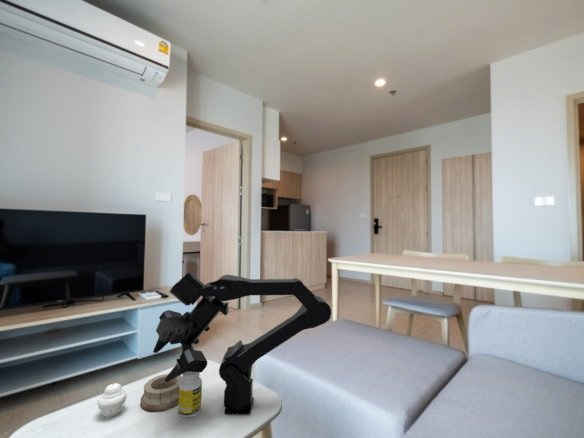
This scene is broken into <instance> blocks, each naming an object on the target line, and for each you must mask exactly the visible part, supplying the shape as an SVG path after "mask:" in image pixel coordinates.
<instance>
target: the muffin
mask: <svg viewBox="0 0 584 438" xmlns="http://www.w3.org/2000/svg"><path fill="white" fill-rule="evenodd" d="M127 396H128V394H127V391H126V390H125V389H123V388H122V385H121V384H120V383H117V382H115V383H112V384H109V385H107V386H106V387H105V388H104V391H103V393H102V394H101V396H99V398H98V400H97V403H96V404H97V407H98V410H100V412H101V414H102V415H103V416H104V418H105V417H106V418H111V417H115V416H117V415H118V414H119V413H120V412H121V410H122V408H123V405H124V404H125V402H126V399H127V398H128V397H127Z"/></svg>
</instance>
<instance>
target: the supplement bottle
mask: <svg viewBox="0 0 584 438" xmlns="http://www.w3.org/2000/svg"><path fill="white" fill-rule="evenodd" d="M200 373H201V372H186V373H183V374H182V377H183V380H182V381H181V382H180V384H179V404H178V405H177V406H178V409H177V410H178V412H177V413H178V415H179V416H180V417H182V418H184V419H185V418H193V417H196V415H198V414H199V413H200V412H201V409H202V396H203V394H202V393H203V391H202V390H203V380H202V378H201V377H200V375H201V374H200Z"/></svg>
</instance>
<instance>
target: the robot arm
mask: <svg viewBox="0 0 584 438" xmlns="http://www.w3.org/2000/svg"><path fill="white" fill-rule="evenodd" d="M169 294H171V295H172V296H173V297H175V298H176V299H177V300H178V301H180V303H182V304H183V305H185V306H186V307H187V306H190V305H192V306H193V305H195V304H196V302H197V301H198V300H199V301H198V303H197V304H196V305H195V307H194V308H193V309H192V310H191V311H190V312H189V311H186V312H184V313H183V314H182V313H181V312H179V311H178V312H177V311H174V310H170V309H167V310H164V311H163V312H162V313H161V314H160V316H158V317H159V323H158V324H157V327H156V329H155V331H156V333H157V335H158V339H157V341H156V343H155V346H154V348H153V354H157V353H158V352H160V351H161V350H163V348H164V347H166V346H167V345H168V344H170V345H171V346H172V345H177V344H180V345H181V348H182V349H183V351H182V353H181V354H180V355H179V358H176V359H175V360H176V364H175V365H174V367H173V368H172V369H171V371H170V372H169V373H167V374H168V376H167V377H166V379H165V382H168V381H170V380H172V379H174V378H176V377H178V376H180V375H181V376H183V373H186V372H199V373H202V372H203V371H205V370H206V368H207V366H208V359H207V358H206V356H205V355H204V353H203V351H202V350H197V349H194V346H193V345H198V344H199V343H200V339H199V338H200V337H201V336H202V334H203V333H204V332H208V331H210V329H211V328H210V326H209V325H210V324H211V323H212V322H213V321H214V319H216V318H217V316H218V314H219V313H221V314H223V315H224V316H227V315H228V313H229V311H230V308H229V303H230V302H228V301H233V300H238V299H242V298H245V297H248V296H294V297H295V298H296V299H297V300H298V301H299V303H300V304H302V305H301V306H300V307H299V308H298V310H297V311H296V312H295V313H294V314H293V315H291V316H290V317H288V318H287V319H285V320H284V321H283V322H281V323H279V324H278V325H276V326H274V327H273V328H272V329H270V330H269V331H267V332H265V333H263V334H262V335H261V336H259V337H257V338H255V339H254V340H253V341H251V342H250V343H249V342H248V343H246V344H245V343H244V344H243V342H242V340H241V339H240V340H238V341H237V342H236V343H235V344H234V345H232V346H228V347H227V349H226V351H225V353H224V354H223V358H222V360H221V363H220V364H219V369H218V375H219V378H221V380H222V381H224V382H225V385H226V386H225V389H224V391H223V393H224V394H223V408H224V412H223V414H224V415H248V416H249V415H251V413H252V409H253V403H254V400H255V399H254V398H255V397H253V391H254V389H253V387H254V386H253V385H254V384H253V383H254V379H253V378H252V371H253V365H254V364H255V363H256V362H257V361H258V360H259V359H260V358H262V357H263V356H265V355H267V354H269V353H270V352H272V351H273V350H275V349H276V348H278V347H279V346H281V345H282V344H284V343H286V342H287V341H288V340H290V339H291V338H293V337H294V336H297V334H299V333H301V332H302V331H305V330H309V329H314V328H317V327H319V326H322V325H324V324H327V322H329V321H330V319H331V317H332V309H331V307H330V305H329V304H328V302H327V301H326V299H324V298H323V297H321V296H319V295H315V294H314V292H312V291H311V290H310V289H309V288H308V287H307V286H306V285H305V284H304V283H303V281H302V280H301V279H300V278H298V277H297V278H295V277H294V278H282V279H281V278H271V279H269V278H268V279H265V278H261V279H260V278H259V279H255V278H254V279H253V278H252V279H251V278H246V277H243V276H239V275H232V274H223V275H222V276H220V277H219V278H218V279H217V280H214V281H209V282H207V283H206V284H204V282H203V281H202V280H199V279H198V277H196V276H195V275H194V274H193V273H192V272H191V271H188V272H186V274H184V276H183V277H182V278H181V279H179V281H177V282H176V283H175V284H174V285H173V286H171V288H170V290H169ZM201 297H202V298H201Z"/></svg>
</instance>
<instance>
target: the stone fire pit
mask: <svg viewBox="0 0 584 438" xmlns="http://www.w3.org/2000/svg"><path fill="white" fill-rule="evenodd" d="M168 374H169V373H164V374H161V375H156V376H154V377H153V378H151V379H149V380H147V382H145V383H144V385H143V394H142V395H141V397H140V408H141V409H142V410H144V411H145V412H148V413H160V412H164V411H167V410H171V409H173V408H175V407H177V406H179V384H180V382H181V381H182V380H183V375H180V376H178V377H176V378H174V379H172V380H170V381H168V382H165V379H166V377H167V376H168Z"/></svg>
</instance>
